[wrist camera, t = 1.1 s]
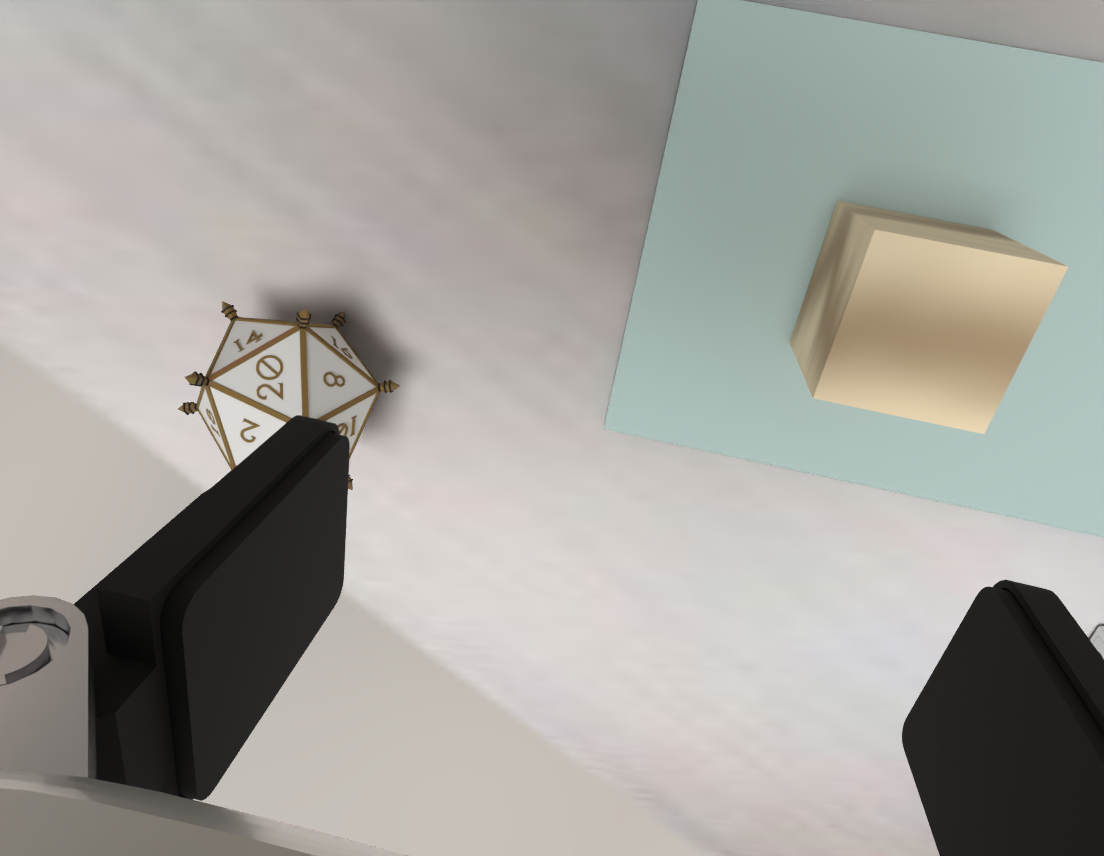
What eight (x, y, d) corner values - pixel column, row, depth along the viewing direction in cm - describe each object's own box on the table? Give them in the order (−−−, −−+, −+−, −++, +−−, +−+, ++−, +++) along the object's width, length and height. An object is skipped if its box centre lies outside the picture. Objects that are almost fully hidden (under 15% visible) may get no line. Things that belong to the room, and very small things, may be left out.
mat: (699, -7, 26) (699, -8, 26) (1773, 179, 24) (1790, 181, 23) (604, 425, 34) (603, 429, 34) (1392, 595, 32) (1400, 601, 31)
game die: (324, 320, 38) (142, 261, 30) (449, 332, 34) (281, 266, 25) (293, 484, 38) (100, 473, 29) (415, 516, 34) (233, 514, 25)
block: (836, 199, 28) (875, 229, 23) (992, 229, 27) (1068, 266, 22) (789, 342, 31) (812, 398, 25) (929, 370, 30) (983, 434, 25)
